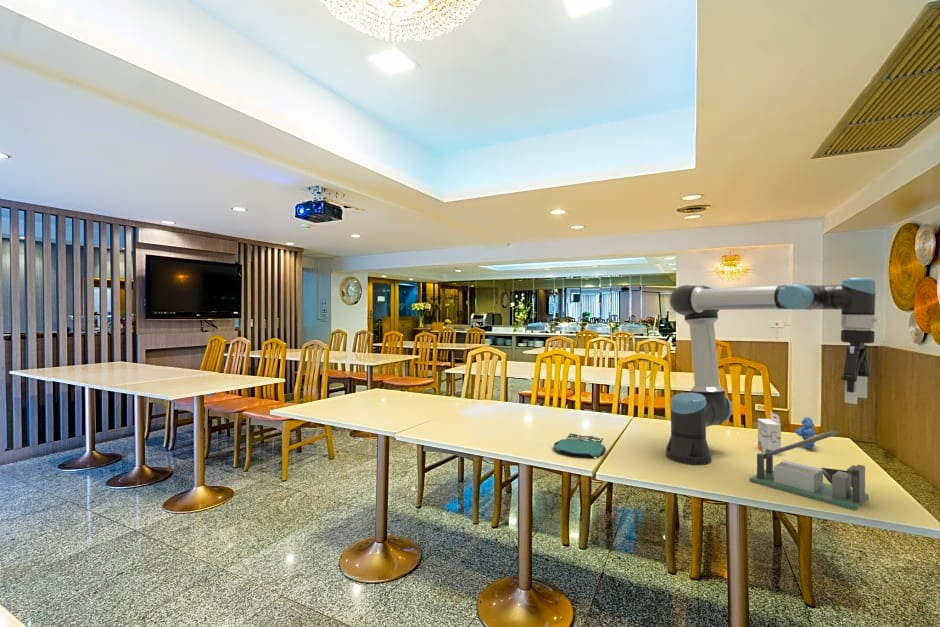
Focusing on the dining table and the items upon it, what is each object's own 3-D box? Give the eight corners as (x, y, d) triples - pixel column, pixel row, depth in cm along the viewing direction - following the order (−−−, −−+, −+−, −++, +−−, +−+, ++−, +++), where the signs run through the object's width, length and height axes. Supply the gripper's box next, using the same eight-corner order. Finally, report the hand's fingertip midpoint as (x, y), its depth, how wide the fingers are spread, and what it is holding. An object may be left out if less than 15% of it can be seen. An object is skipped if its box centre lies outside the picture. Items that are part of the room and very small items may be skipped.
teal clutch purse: (548, 454, 167) (548, 448, 167) (565, 436, 194) (565, 430, 194) (601, 462, 159) (601, 456, 159) (612, 441, 186) (612, 436, 186)
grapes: (792, 442, 181) (792, 413, 181) (812, 444, 178) (812, 415, 178) (797, 450, 171) (797, 419, 171) (819, 452, 168) (819, 421, 168)
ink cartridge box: (756, 447, 175) (756, 410, 175) (770, 448, 174) (770, 411, 174) (766, 454, 166) (766, 415, 166) (781, 455, 165) (781, 416, 165)
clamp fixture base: (749, 481, 140) (749, 450, 140) (766, 471, 148) (766, 442, 148) (855, 510, 119) (855, 473, 119) (868, 497, 127) (868, 463, 127)
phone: (831, 482, 137) (819, 467, 150) (831, 486, 137) (819, 470, 150) (864, 486, 133) (849, 470, 146) (864, 490, 133) (849, 474, 146)
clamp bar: (761, 460, 141) (757, 454, 142) (767, 457, 144) (763, 451, 145) (833, 437, 126) (829, 431, 127) (838, 434, 129) (834, 428, 130)
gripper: (865, 331, 120) (863, 408, 120) (882, 328, 135) (880, 397, 136) (830, 330, 126) (829, 403, 126) (850, 327, 141) (849, 393, 142)
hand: (856, 400), depth 131 cm, fingers open, 13 cm apart
